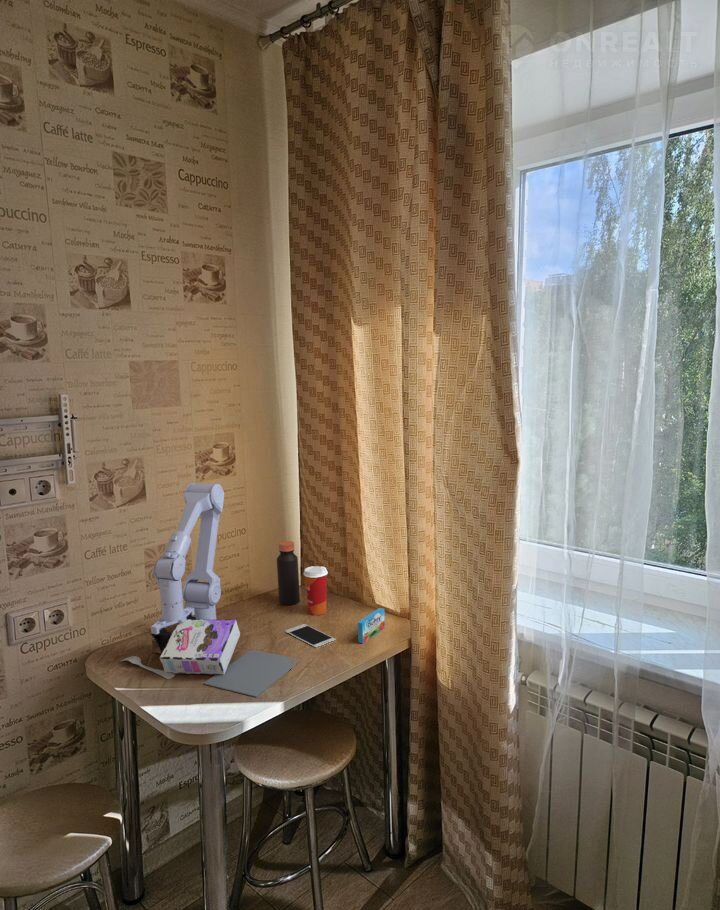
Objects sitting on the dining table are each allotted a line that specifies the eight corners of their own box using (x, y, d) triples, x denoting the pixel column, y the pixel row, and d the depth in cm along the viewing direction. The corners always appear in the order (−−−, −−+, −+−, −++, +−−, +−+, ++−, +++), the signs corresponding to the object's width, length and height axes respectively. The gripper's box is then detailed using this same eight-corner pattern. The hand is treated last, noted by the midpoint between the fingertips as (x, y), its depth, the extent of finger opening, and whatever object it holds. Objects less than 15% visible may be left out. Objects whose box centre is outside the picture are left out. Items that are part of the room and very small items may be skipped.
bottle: (285, 597, 214) (282, 539, 211) (303, 599, 211) (300, 540, 208) (275, 604, 208) (271, 545, 205) (293, 607, 205) (290, 546, 202)
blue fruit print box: (380, 627, 187) (380, 607, 186) (385, 628, 186) (384, 608, 185) (358, 643, 177) (357, 622, 176) (362, 644, 176) (362, 623, 175)
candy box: (219, 659, 158) (158, 658, 161) (225, 675, 161) (164, 674, 164) (236, 618, 170) (178, 618, 173) (241, 634, 173) (184, 633, 176)
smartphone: (304, 626, 191) (304, 623, 191) (336, 642, 179) (336, 638, 179) (284, 633, 186) (284, 630, 186) (316, 650, 175) (316, 646, 175)
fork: (169, 689, 161) (169, 679, 160) (115, 663, 171) (115, 653, 171) (177, 685, 163) (177, 675, 163) (124, 659, 174) (124, 649, 173)
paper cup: (308, 607, 204) (306, 565, 202) (331, 607, 203) (329, 565, 201) (302, 617, 197) (300, 573, 195) (327, 617, 196) (325, 573, 194)
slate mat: (203, 684, 157) (203, 683, 157) (252, 650, 175) (252, 649, 175) (256, 697, 150) (256, 696, 150) (301, 660, 168) (301, 659, 168)
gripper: (163, 613, 164) (167, 663, 166) (201, 594, 177) (205, 640, 179) (143, 609, 167) (147, 658, 169) (182, 590, 180) (185, 636, 182)
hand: (175, 648), depth 174 cm, fingers open, 7 cm apart
